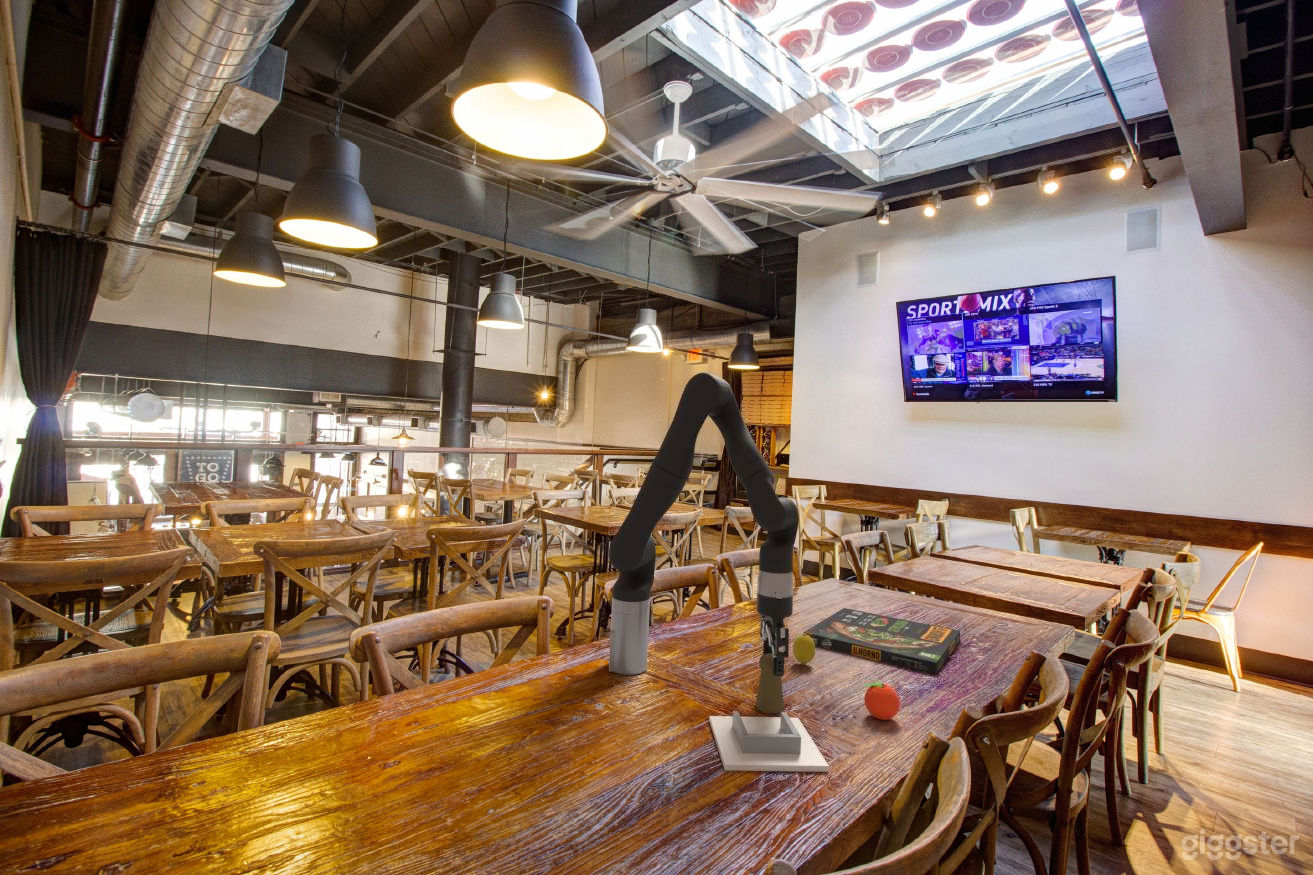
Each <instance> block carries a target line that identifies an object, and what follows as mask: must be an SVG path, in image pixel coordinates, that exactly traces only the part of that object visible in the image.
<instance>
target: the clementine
mask: <svg viewBox="0 0 1313 875" xmlns="http://www.w3.org/2000/svg"><path fill="white" fill-rule="evenodd" d="M868 686H869V687H868ZM865 687H868V688H867V689H866V692H865V693H864V696H863V698H864V705H865V707H866V708H865V709H866V710H867V711H868V713H869V714H870V715H871V716H873V718H876V719H878V720H883V721H888V720H890V719H893V718H894V717H896V715H897V714H898V712H900V706H901V701H900V699H899V695H898V693H897V692H896V690H894V688H893V687H891V686H890V685H888V684H885V683H881V682H879V683H876V682H872V683H868V684H865V685H863V686H862V688H860V690H859V692H861V691H862V689H864V688H865Z"/></svg>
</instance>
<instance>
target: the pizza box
mask: <svg viewBox="0 0 1313 875" xmlns="http://www.w3.org/2000/svg"><path fill="white" fill-rule="evenodd" d="M804 633H805V634H806V635H808V636H809V637H811V638H812V640H813V641H814V644H815V647H820V648H825V649H828V650H833V651H837V652H841V653H846V654H849V655H853V656H857V657H861V658H865V659H868V660H869V659H870V660H874V661H878V662H883V663H887V664H890V665H895V666H898V667H902V668H907V669H910V670H911V669H912V670H914V671H920V672H923V673H928V674H932V675H937V674H938V672H939V671H940V669H941V668H942V667H943V665H944V664H945V662H946V661H947V660H948V659H949V657H950V655H952V652H953V651H955V649H956V647H957V646H958V645H959V643H960V641H961V630H958V629H953V628H948V627H943V626H938V625H932V624H927V623H923V622H918V621H912V620H908V619H902V618H897V617H892V616H887V615H882V614H878V613H872V612H866V611H862V610H857V609H852V608H846V607H843V608H842V609H840V610H838V611H836V612H835V613H833V614H832V615H830V616H828V617H826V618H825V619H823V620H822V621H820V622H817V624H815V625H813V626H811V627H810V628H808V629H806V630H804V631H803V634H804Z"/></svg>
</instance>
